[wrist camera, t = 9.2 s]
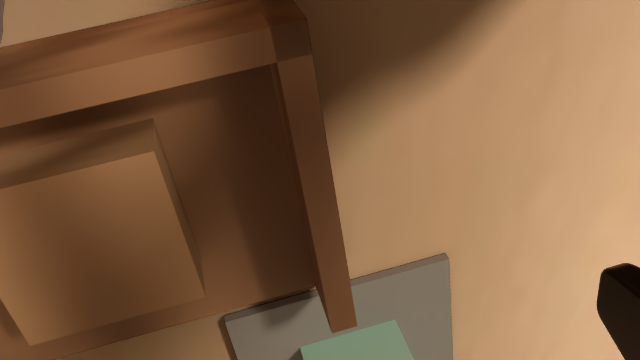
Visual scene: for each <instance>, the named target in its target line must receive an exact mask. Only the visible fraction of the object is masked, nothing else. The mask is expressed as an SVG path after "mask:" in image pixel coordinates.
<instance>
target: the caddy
mask: <svg viewBox="0 0 640 360" xmlns="http://www.w3.org/2000/svg"><path fill="white" fill-rule="evenodd" d="M313 286H316V288H317V291H318V294H319V297H320V300H321V303H322V306H323V309H324V312H325V315H326V318H327V320H328V323H329V326H330V329H331V332H332V333H336V332H339V331H343V330H346V329H349V328H353V327H356V326H357V320H356V314H355V308H354V302H353V296H352V290H351V284H350V278H349V272H348V266H347V260H346V254H345V248H344V242H343V236H342V230H341V224H340V218H339V212H338V206H337V200H336V194H335V188H334V182H333V176H332V170H331V164H330V158H329V151H328V145H327V139H326V133H325V127H324V121H323V115H322V109H321V103H320V97H319V91H318V85H317V79H316V73H315V67H314V61H313V55H312V49H311V43H310V37H309V31H308V25H307V19H306V18H305V16H304V15H303V13H302V12H301V11H300V9H299V8H298V6H297V5H296V3H295V2H294V1H293V0H213V1H208V2H204V3H199V4H195V5H190V6H186V7H181V8H177V9H172V10H168V11H163V12H159V13H154V14H150V15H145V16H141V17H136V18H132V19H127V20H123V21H118V22H114V23H109V24H105V25H100V26H96V27H91V28H87V29H82V30H78V31H73V32H69V33H64V34H60V35H55V36H51V37H46V38H42V39H37V40H33V41H28V42H24V43H19V44H15V45H10V46H6V47H1V48H0V360H54V359H57V358H61V357H65V356H68V355H72V354H75V353H79V352H82V351H86V350H89V349H93V348H96V347H100V346H104V345H107V344H111V343H114V342H118V341H121V340H125V339H128V338H132V337H135V336H139V335H143V334H146V333H150V332H153V331H157V330H160V329H164V328H167V327H171V326H174V325H178V324H182V323H185V322H189V321H192V320H196V319H199V318H203V317H206V316H210V315H213V314H217V313H221V312H224V311H228V310H231V309H235V308H238V307H242V306H245V305H249V304H252V303H256V302H260V301H263V300H267V299H270V298H274V297H277V296H281V295H284V294H288V293H292V292H295V291H299V290H302V289H306V288H309V287H313Z"/></svg>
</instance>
